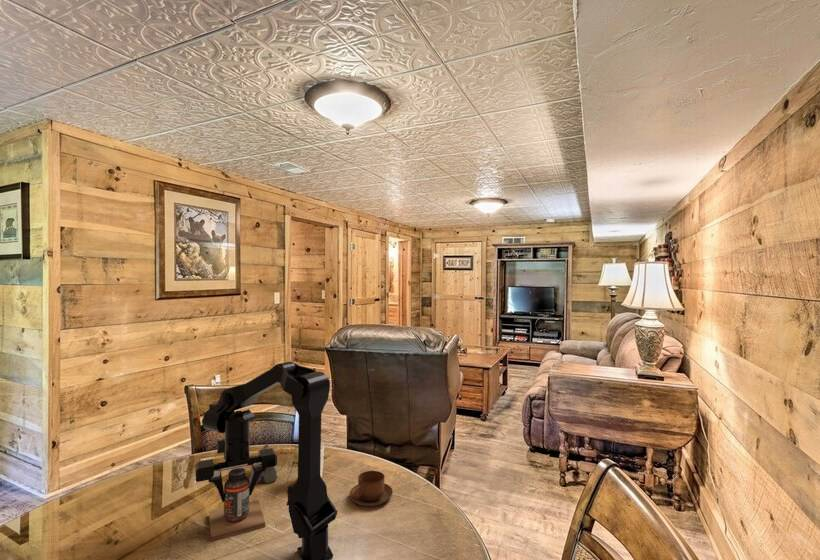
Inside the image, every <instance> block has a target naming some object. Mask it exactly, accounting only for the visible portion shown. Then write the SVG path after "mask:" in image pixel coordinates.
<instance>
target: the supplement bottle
mask: <svg viewBox="0 0 820 560" xmlns="http://www.w3.org/2000/svg"><path fill="white" fill-rule="evenodd" d="M246 472H247V471H246V469H245V468H244V467H238V468H233V469H230V470H229V472H228V478H227V479H226V481H224V484H223V489H224V496H225V498H224V502H223V508H224V518H225V520H227V521H231V522H234V521H239V520H242V519H244V518H245V517H246V516H247V515H248V514H249V502H250V495H249V494H250V477H248V476H246V475H247V473H246Z"/></svg>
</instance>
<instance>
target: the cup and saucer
mask: <svg viewBox="0 0 820 560" xmlns="http://www.w3.org/2000/svg"><path fill="white" fill-rule="evenodd" d="M357 479H358V480H357V484H356V485H354V486H353V487H352V488H351V489H350V491H349V498H350V499H351V500H352V501H353V502H354V503H356V504H357V505H360V506H364V507H373V506H374V507H375V506H379V505H382V504H384V503H386V502H387V501H389V500H390V499H391V498H392V496H393V488H392V487H391V486H390V485H389V484H387V483H385V474H384V473H383V472H382V471H378V470H367V471H363V472H362V473H360V474H358V478H357Z"/></svg>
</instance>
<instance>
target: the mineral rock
mask: <svg viewBox="0 0 820 560" xmlns="http://www.w3.org/2000/svg"><path fill="white" fill-rule="evenodd" d="M265 449H270V445H269V444H268V443H266V444H265V445H264V446H262V447H261V448H260V450H265ZM277 479H279V472H278V464H277V465H276V466H273V467H268V468H266V471H264V472H262V473H261V475H260V477H259V478H258V480H257V482H258V484H263V483H267V484H270V483H272V482H274V481H277ZM257 482H256V483H257Z"/></svg>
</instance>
